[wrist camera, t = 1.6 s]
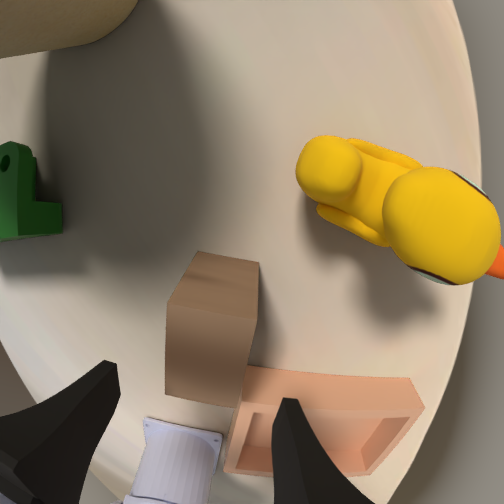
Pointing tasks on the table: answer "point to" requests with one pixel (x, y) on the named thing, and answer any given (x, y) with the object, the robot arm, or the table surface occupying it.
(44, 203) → the clamp
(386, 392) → the pink rectangular tray
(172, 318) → the tan wooden block
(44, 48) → the plant pot
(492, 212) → the duckling
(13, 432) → the robot arm
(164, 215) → the table surface
